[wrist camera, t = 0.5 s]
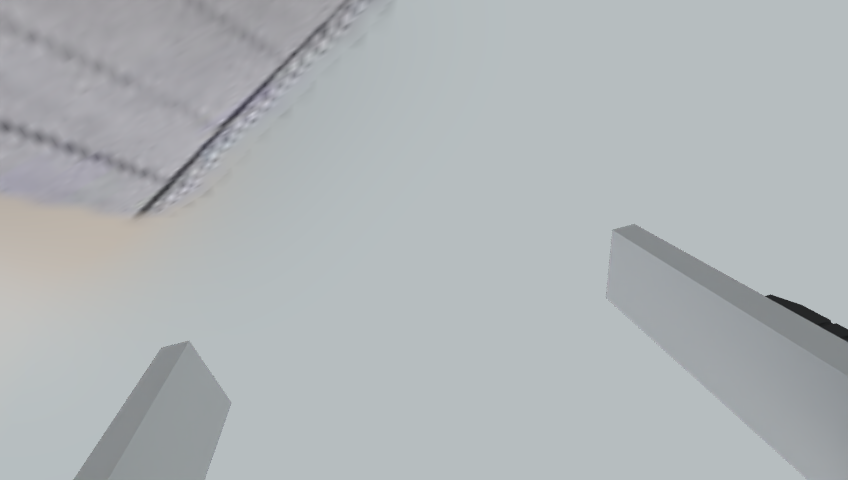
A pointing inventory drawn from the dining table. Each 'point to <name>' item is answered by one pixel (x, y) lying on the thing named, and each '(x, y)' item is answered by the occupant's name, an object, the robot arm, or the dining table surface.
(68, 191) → the dining table surface
